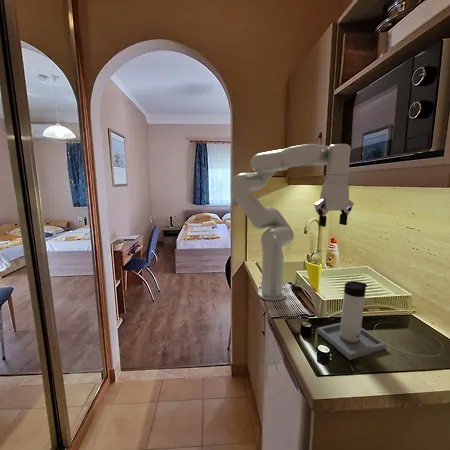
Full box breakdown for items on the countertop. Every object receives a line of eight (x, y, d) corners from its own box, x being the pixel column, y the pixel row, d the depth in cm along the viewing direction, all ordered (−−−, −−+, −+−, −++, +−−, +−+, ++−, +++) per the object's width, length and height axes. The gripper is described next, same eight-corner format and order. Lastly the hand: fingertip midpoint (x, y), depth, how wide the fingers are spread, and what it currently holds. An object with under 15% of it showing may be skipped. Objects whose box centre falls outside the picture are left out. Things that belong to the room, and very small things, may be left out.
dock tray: (316, 333, 96) (317, 327, 96) (350, 325, 102) (350, 320, 101) (349, 360, 83) (350, 354, 82) (385, 349, 88) (386, 343, 87)
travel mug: (363, 345, 89) (369, 288, 85) (341, 342, 90) (347, 286, 86) (358, 334, 95) (364, 280, 91) (337, 332, 96) (343, 278, 92)
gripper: (347, 179, 106) (343, 222, 109) (310, 179, 100) (307, 224, 103) (363, 179, 99) (358, 225, 102) (324, 179, 93) (320, 228, 96)
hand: (332, 225), depth 103 cm, fingers open, 9 cm apart
